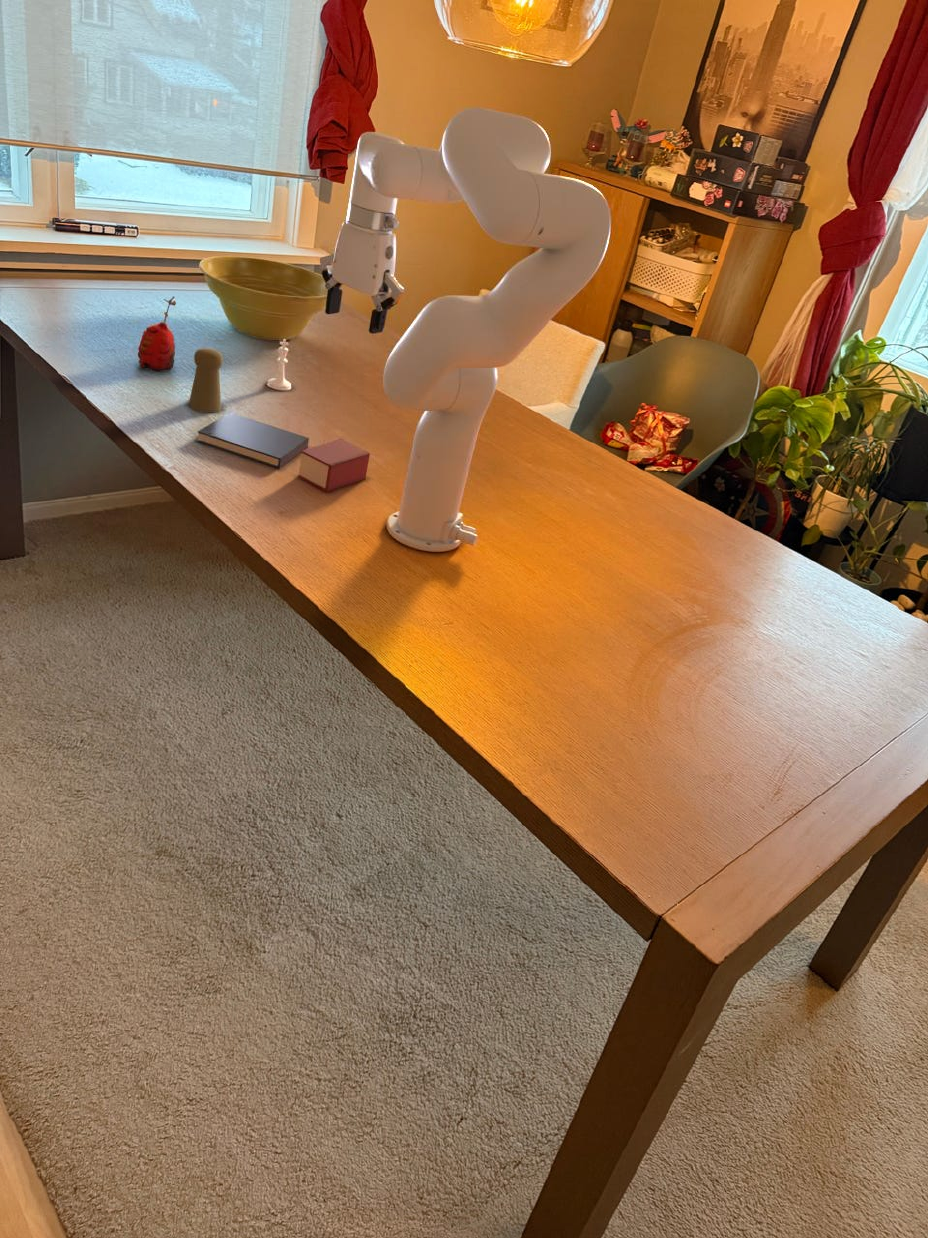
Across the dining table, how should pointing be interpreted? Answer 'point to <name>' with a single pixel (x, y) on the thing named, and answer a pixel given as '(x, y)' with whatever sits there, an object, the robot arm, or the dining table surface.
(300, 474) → the pocket dictionary
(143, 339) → the red clay folk toy
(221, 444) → the slate hardcover
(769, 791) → the dining table surface
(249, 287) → the planter bowl
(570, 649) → the dining table surface
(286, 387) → the chess piece
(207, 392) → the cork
